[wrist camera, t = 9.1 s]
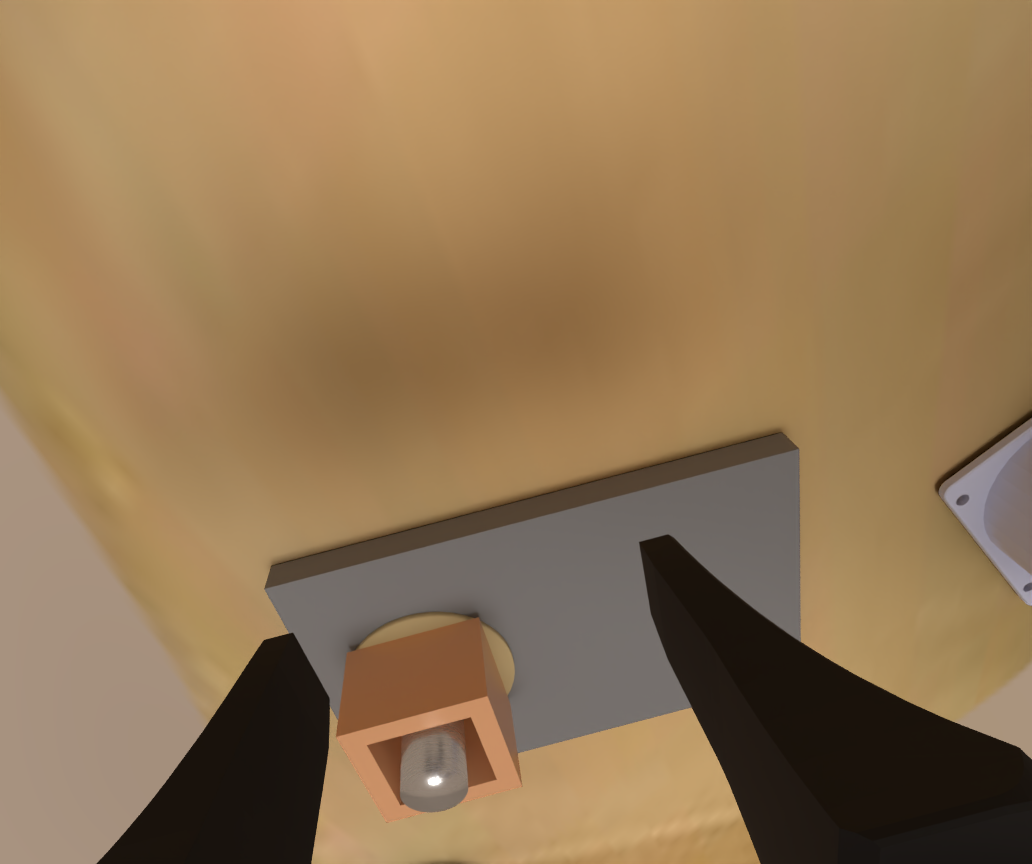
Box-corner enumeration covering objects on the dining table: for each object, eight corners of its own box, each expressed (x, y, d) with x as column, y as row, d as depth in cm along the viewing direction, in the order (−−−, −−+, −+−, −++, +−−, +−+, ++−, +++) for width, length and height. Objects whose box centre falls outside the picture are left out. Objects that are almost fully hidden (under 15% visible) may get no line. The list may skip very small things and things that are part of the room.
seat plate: (782, 432, 23) (803, 453, 22) (787, 657, 29) (804, 684, 28) (271, 566, 23) (262, 595, 22) (378, 764, 29) (376, 796, 28)
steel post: (470, 646, 27) (482, 785, 21) (433, 677, 27) (436, 819, 22) (429, 621, 26) (431, 760, 20) (392, 653, 26) (385, 797, 21)
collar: (478, 617, 24) (487, 696, 21) (510, 704, 26) (522, 786, 23) (346, 652, 24) (335, 736, 21) (390, 736, 26) (386, 822, 23)
